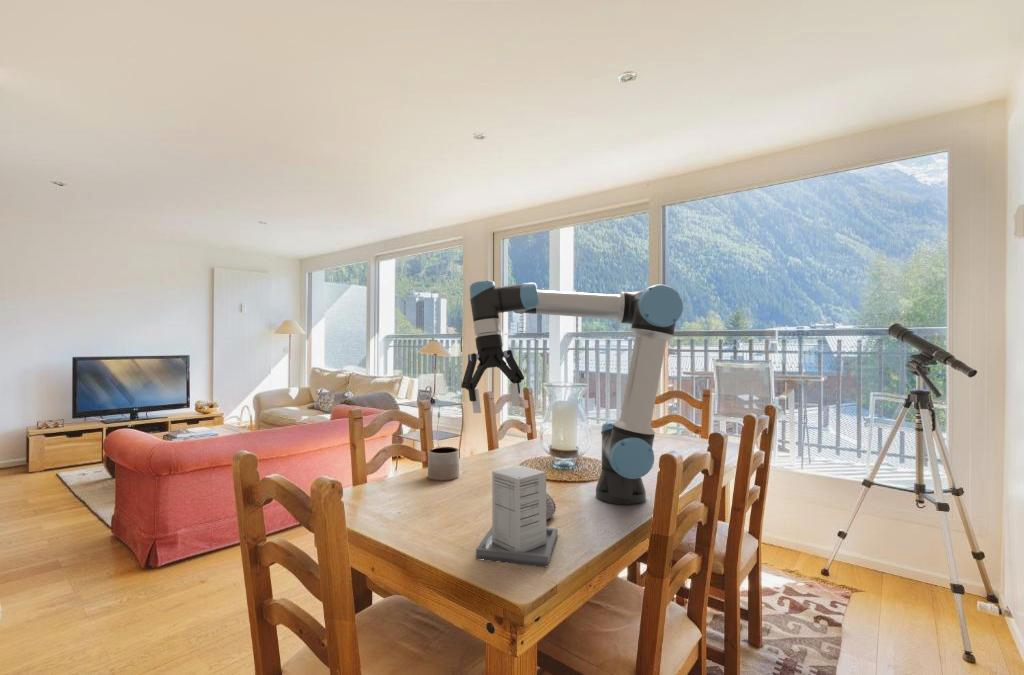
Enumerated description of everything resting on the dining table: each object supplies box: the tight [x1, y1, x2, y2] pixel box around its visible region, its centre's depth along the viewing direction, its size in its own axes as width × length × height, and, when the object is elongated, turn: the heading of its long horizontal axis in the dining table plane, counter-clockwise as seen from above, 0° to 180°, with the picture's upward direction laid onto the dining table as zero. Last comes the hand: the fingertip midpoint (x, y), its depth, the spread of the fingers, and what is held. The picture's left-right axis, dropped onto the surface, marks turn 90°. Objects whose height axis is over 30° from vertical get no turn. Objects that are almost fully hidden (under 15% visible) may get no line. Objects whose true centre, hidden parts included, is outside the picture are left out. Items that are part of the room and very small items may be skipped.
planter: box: [427, 446, 460, 482], centre depth 174 cm, size 11×11×10 cm
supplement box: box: [491, 465, 547, 552], centre depth 115 cm, size 10×9×17 cm
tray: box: [475, 526, 559, 567], centre depth 115 cm, size 16×16×2 cm
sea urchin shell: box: [546, 492, 557, 521], centre depth 136 cm, size 13×14×8 cm
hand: (497, 409), depth 140 cm, fingers open, 13 cm apart
